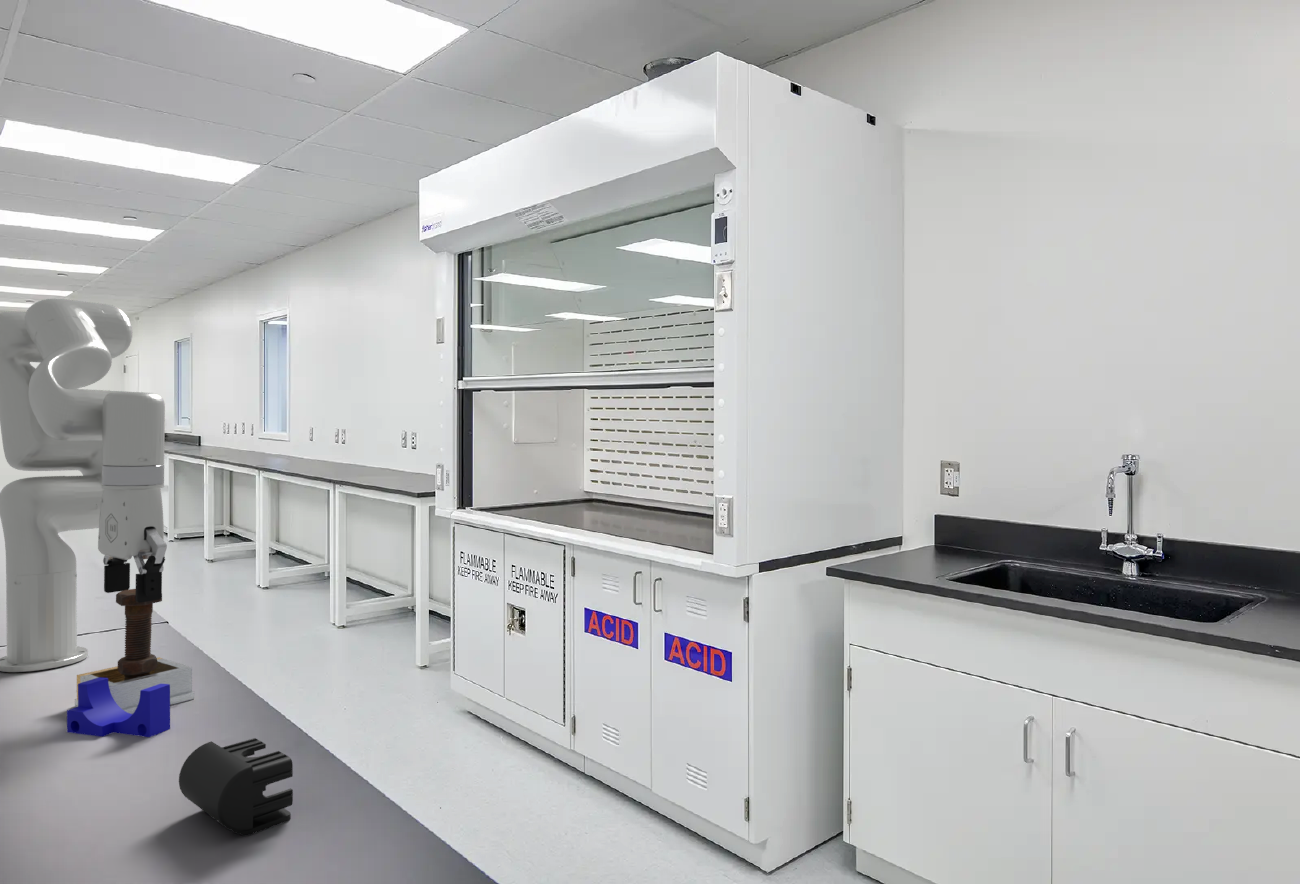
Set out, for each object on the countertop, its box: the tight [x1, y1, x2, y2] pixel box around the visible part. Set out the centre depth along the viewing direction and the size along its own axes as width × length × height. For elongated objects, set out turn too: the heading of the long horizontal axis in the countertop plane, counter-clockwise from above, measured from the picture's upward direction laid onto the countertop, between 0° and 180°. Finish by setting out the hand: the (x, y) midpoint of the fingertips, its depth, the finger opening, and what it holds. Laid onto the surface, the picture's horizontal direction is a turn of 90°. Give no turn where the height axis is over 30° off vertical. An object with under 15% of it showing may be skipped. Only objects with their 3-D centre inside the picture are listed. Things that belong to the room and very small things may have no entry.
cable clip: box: [66, 677, 171, 738], centre depth 103 cm, size 12×4×6 cm, turn 74°
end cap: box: [178, 737, 294, 837], centre depth 79 cm, size 10×7×7 cm
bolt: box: [115, 588, 163, 681], centre depth 114 cm, size 6×5×15 cm
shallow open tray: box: [74, 657, 195, 714], centre depth 114 cm, size 11×11×4 cm
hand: (132, 595), depth 114 cm, fingers open, 9 cm apart
